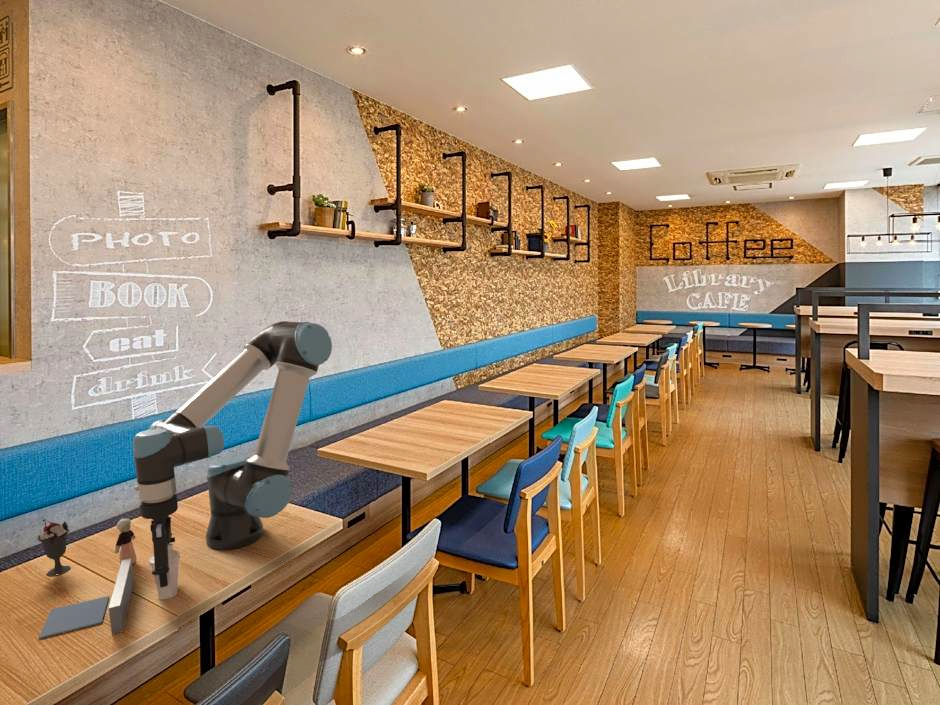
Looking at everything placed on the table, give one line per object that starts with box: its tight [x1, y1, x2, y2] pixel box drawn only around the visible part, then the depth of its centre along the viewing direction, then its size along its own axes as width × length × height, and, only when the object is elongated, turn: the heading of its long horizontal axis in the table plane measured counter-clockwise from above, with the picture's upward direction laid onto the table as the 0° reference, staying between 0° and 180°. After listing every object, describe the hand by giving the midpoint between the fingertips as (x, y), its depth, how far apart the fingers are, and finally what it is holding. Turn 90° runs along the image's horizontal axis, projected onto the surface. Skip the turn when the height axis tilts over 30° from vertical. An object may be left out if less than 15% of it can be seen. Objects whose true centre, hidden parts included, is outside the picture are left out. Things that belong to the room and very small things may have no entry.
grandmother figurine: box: [114, 518, 138, 569], centre depth 142 cm, size 8×4×13 cm, turn 12°
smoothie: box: [148, 549, 181, 600], centre depth 128 cm, size 6×6×14 cm
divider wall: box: [108, 559, 135, 635], centre depth 124 cm, size 2×22×6 cm, turn 26°
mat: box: [38, 595, 110, 640], centre depth 121 cm, size 11×11×1 cm
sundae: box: [36, 518, 71, 576], centre depth 140 cm, size 7×7×15 cm
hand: (167, 583), depth 128 cm, fingers open, 12 cm apart
